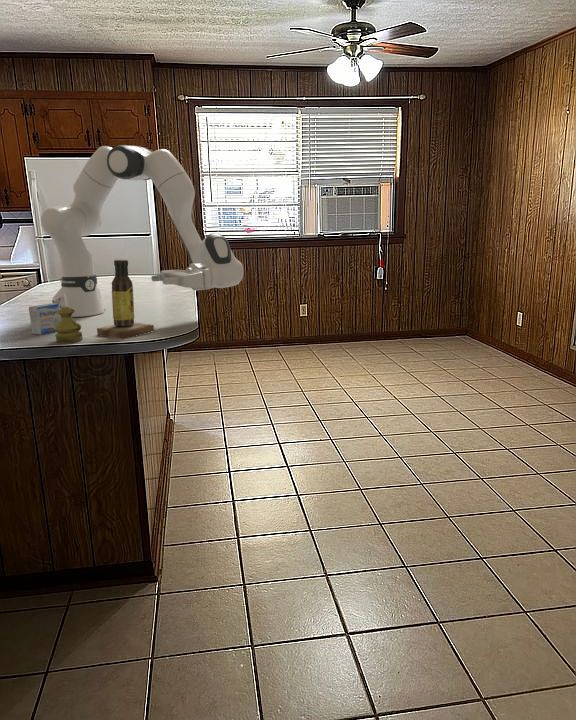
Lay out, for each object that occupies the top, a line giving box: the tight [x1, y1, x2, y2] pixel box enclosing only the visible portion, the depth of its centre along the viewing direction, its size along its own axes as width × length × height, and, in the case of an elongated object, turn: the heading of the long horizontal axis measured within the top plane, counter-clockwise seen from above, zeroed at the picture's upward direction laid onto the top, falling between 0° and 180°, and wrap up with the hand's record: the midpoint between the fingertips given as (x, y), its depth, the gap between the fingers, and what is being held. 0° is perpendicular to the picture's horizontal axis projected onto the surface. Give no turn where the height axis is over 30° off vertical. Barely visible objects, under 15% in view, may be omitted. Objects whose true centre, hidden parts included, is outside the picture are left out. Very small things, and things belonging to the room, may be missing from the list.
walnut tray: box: [96, 322, 155, 340], centre depth 173 cm, size 12×12×2 cm
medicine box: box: [28, 302, 62, 336], centre depth 178 cm, size 8×4×9 cm, turn 148°
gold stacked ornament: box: [54, 307, 84, 344], centre depth 165 cm, size 7×7×10 cm
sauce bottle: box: [111, 259, 135, 326], centre depth 171 cm, size 6×6×20 cm
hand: (157, 280), depth 177 cm, fingers open, 8 cm apart
